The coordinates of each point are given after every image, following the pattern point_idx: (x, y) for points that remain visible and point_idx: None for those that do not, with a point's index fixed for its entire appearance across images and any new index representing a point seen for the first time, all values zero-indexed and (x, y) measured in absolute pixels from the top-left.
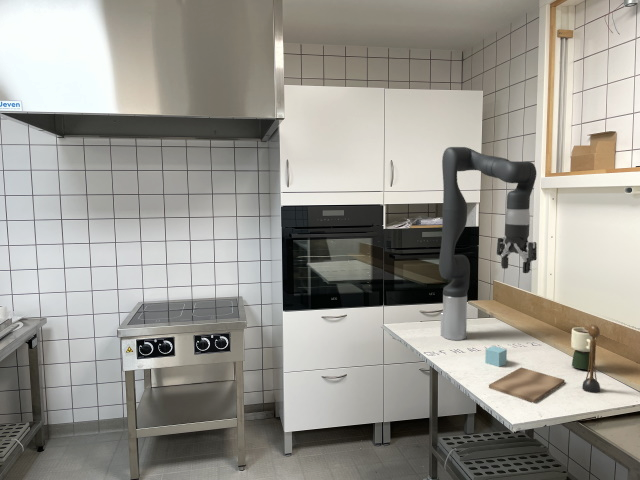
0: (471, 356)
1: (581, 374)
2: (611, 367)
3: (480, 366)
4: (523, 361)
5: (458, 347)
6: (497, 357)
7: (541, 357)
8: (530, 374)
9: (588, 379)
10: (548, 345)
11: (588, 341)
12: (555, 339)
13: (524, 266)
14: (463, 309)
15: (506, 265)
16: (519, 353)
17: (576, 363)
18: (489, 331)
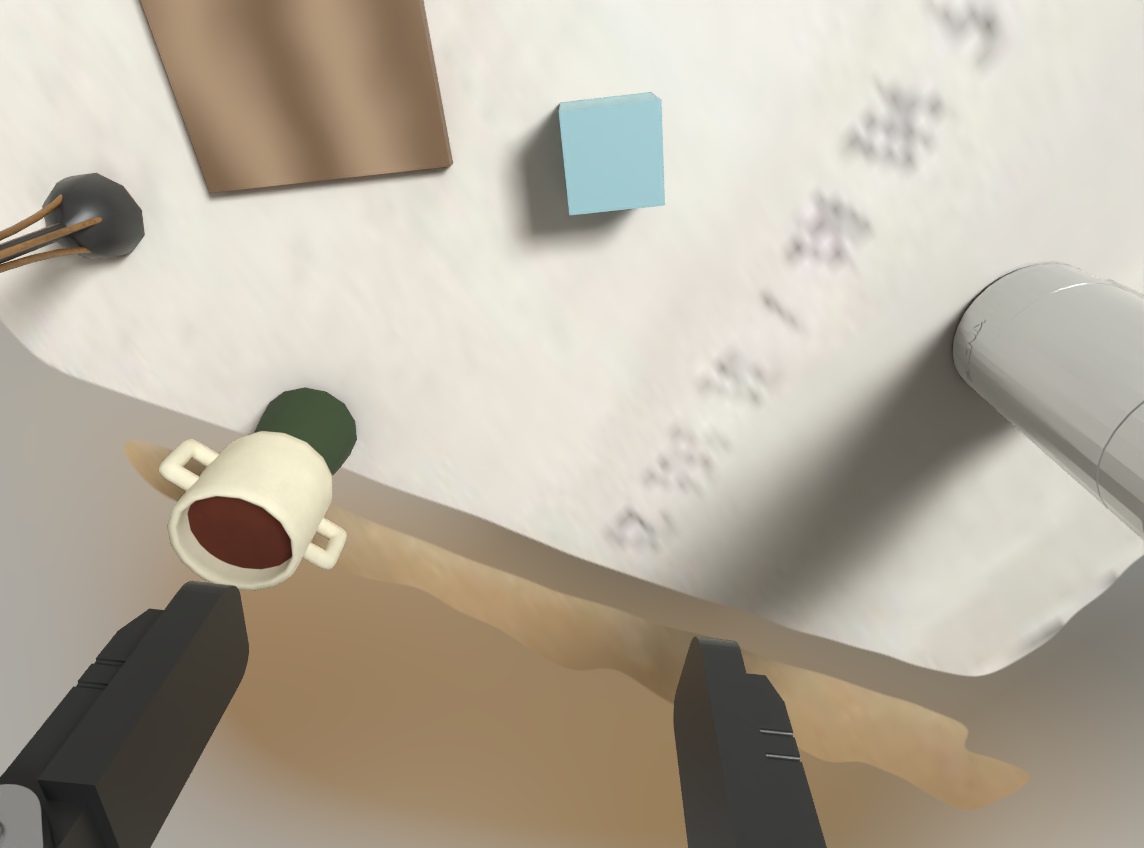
0: (774, 120)
1: (262, 353)
2: None
3: (638, 8)
4: (527, 292)
5: (918, 192)
6: (570, 106)
7: (507, 407)
8: (348, 107)
9: (71, 213)
10: (582, 556)
11: (173, 465)
12: (605, 632)
13: (115, 683)
14: (1079, 420)
15: (686, 728)
16: (609, 376)
17: (302, 400)
18: (894, 531)
